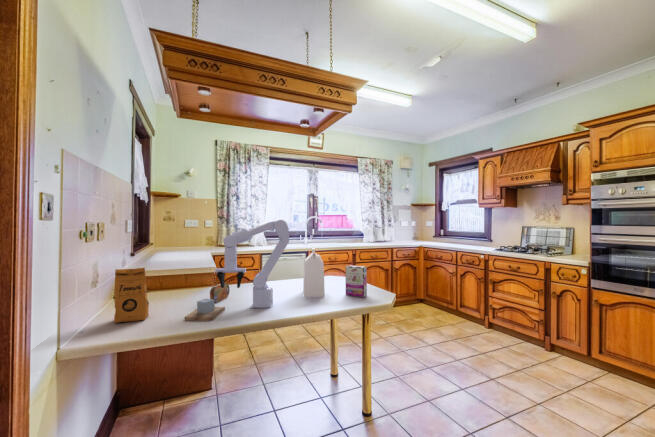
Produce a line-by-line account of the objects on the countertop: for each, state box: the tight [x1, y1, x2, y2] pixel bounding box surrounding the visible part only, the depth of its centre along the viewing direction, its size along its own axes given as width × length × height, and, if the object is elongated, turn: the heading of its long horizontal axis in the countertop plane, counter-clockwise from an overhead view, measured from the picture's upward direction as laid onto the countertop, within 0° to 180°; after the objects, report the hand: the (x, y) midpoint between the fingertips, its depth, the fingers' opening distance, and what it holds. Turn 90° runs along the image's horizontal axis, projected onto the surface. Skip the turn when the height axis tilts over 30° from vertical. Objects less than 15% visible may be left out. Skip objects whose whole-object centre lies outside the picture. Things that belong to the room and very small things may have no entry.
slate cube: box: [196, 298, 215, 314], centre depth 128 cm, size 5×5×5 cm
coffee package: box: [113, 267, 150, 323], centre depth 122 cm, size 10×12×22 cm
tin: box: [209, 282, 230, 303], centre depth 152 cm, size 15×3×8 cm, turn 168°
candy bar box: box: [345, 264, 368, 298], centre depth 161 cm, size 11×5×16 cm, turn 61°
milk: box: [302, 247, 326, 298], centre depth 164 cm, size 12×12×26 cm
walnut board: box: [184, 306, 226, 322], centre depth 128 cm, size 12×14×2 cm
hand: (230, 287), depth 140 cm, fingers open, 7 cm apart
